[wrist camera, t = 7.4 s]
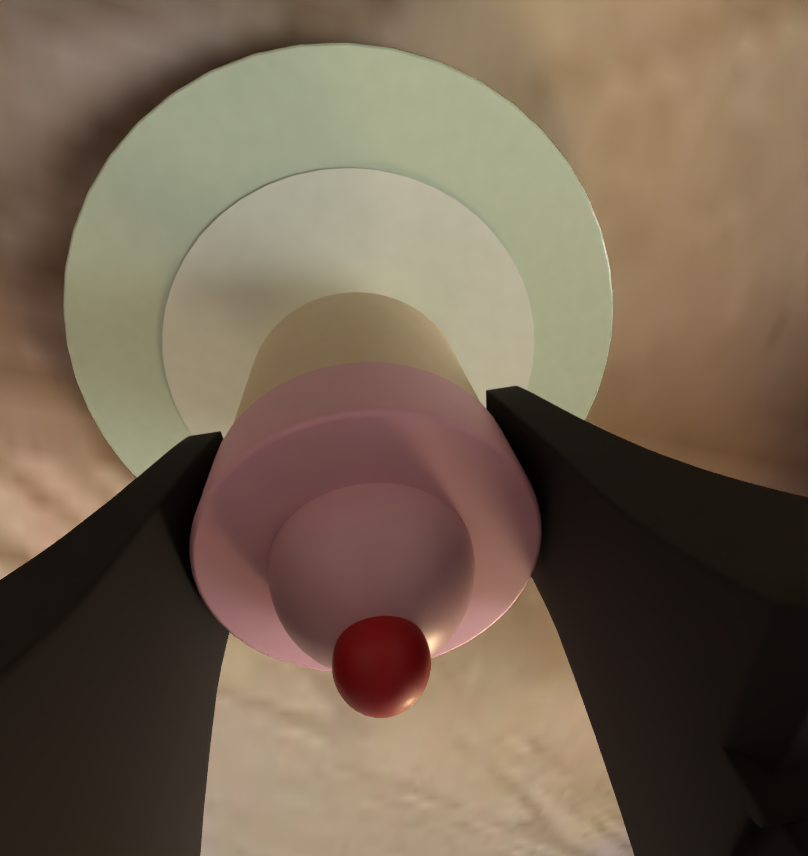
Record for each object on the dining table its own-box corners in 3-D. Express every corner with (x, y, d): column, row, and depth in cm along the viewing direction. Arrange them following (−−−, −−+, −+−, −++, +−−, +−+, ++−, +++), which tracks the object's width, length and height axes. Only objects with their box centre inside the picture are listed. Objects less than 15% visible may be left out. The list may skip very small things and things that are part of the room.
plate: (184, 577, 18) (178, 597, 17) (-46, 90, 10) (-75, 87, 10) (582, 510, 18) (592, 527, 17) (628, 8, 11) (650, 0, 10)
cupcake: (275, 495, 14) (220, 852, 7) (217, 305, 11) (37, 587, 4) (468, 465, 14) (593, 781, 7) (457, 271, 11) (641, 488, 5)
